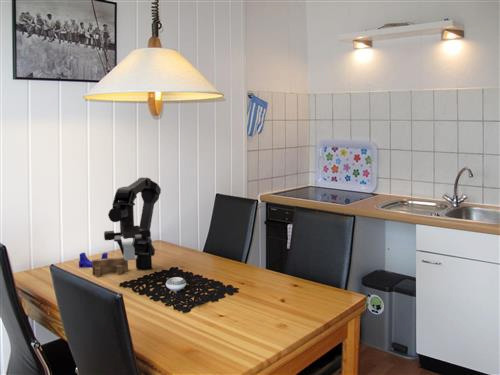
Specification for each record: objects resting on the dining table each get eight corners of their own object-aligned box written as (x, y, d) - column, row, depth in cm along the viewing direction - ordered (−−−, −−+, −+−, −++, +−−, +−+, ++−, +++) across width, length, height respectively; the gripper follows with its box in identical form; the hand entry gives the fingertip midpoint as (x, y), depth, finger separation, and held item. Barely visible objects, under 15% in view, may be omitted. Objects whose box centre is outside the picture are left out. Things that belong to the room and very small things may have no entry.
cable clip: (79, 267, 235) (78, 255, 235) (82, 265, 240) (82, 252, 239) (104, 268, 235) (104, 255, 234) (108, 265, 239) (107, 252, 238)
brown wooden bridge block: (127, 269, 231) (127, 256, 230) (129, 273, 225) (128, 260, 224) (92, 273, 226) (92, 259, 225) (93, 277, 220) (92, 263, 219)
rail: (131, 252, 224) (131, 241, 223) (134, 259, 212) (134, 247, 212) (122, 253, 222) (121, 242, 222) (124, 260, 211) (124, 248, 210)
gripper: (105, 222, 205) (106, 261, 206) (152, 219, 211) (153, 256, 213) (103, 218, 215) (104, 254, 217) (148, 215, 221) (149, 250, 223)
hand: (128, 254), depth 217 cm, fingers closed on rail, 4 cm apart
